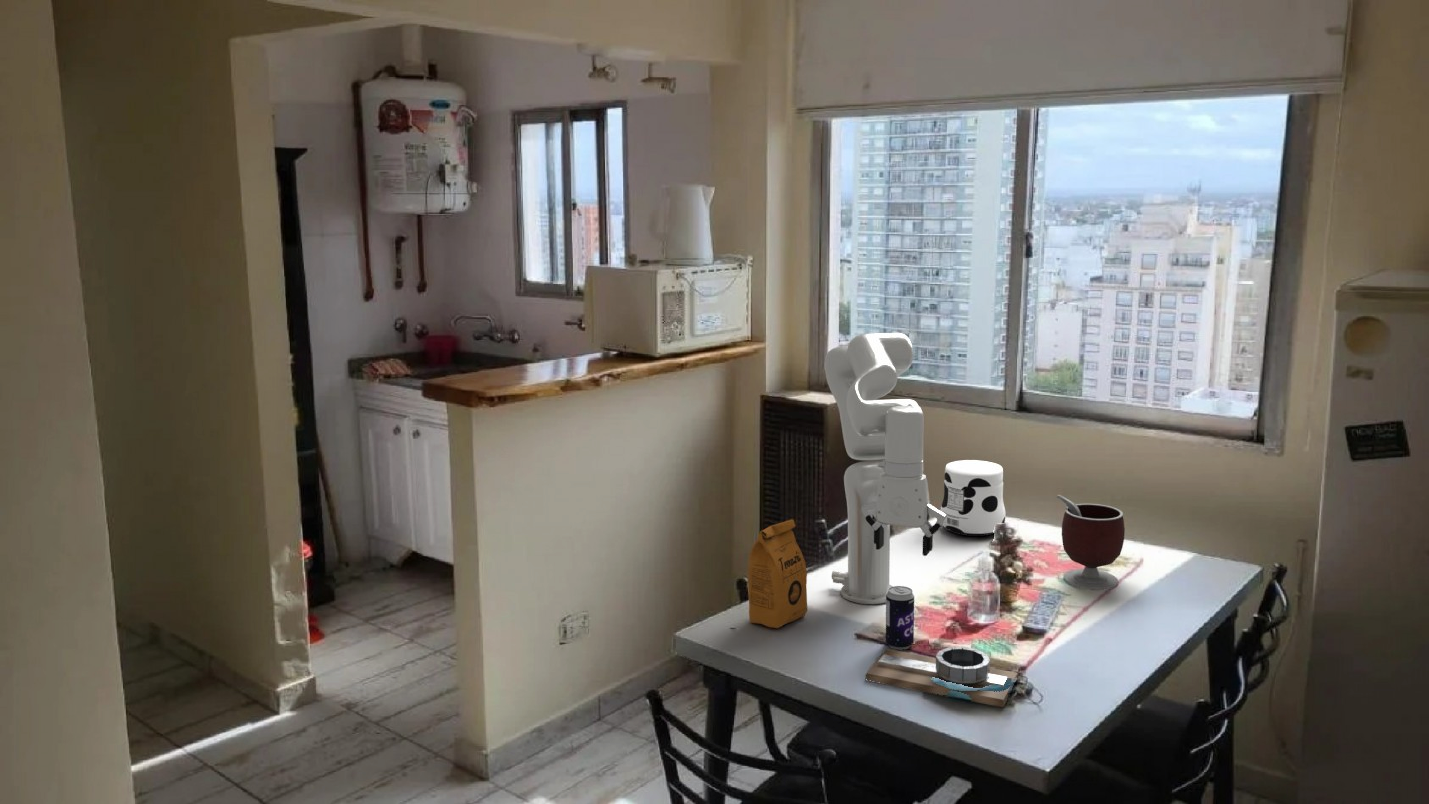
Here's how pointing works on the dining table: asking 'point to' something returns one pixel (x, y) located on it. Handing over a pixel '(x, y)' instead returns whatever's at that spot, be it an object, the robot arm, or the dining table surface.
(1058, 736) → the dining table surface
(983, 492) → the milk container
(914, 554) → the dining table surface
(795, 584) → the coffee package
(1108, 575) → the mate gourd
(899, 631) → the beverage can
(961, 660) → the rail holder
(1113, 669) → the dining table surface
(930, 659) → the mount board
